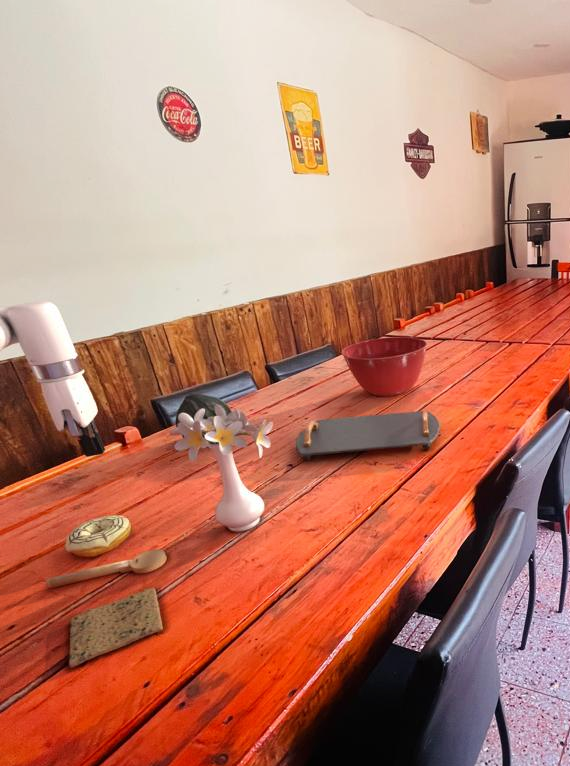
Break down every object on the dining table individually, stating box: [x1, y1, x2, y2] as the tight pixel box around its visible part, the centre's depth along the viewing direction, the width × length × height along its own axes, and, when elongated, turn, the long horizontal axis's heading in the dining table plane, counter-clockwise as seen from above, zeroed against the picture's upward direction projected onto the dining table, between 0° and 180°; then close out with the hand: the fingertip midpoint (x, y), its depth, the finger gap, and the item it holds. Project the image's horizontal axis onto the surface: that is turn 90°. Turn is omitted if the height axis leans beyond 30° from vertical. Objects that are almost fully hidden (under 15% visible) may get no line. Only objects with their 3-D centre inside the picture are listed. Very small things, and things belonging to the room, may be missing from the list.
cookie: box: [68, 587, 163, 669], centre depth 81 cm, size 12×12×1 cm
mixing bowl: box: [341, 336, 428, 397], centre depth 174 cm, size 28×28×16 cm
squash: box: [175, 393, 233, 442], centre depth 144 cm, size 14×15×15 cm
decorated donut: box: [65, 514, 132, 558], centre depth 101 cm, size 10×11×4 cm
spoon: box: [45, 548, 167, 589], centre depth 93 cm, size 19×6×2 cm, turn 111°
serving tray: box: [295, 410, 441, 462], centre depth 139 cm, size 39×23×6 cm, turn 96°
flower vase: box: [169, 404, 274, 532], centre depth 101 cm, size 13×18×25 cm
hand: (95, 453), depth 106 cm, fingers closed
